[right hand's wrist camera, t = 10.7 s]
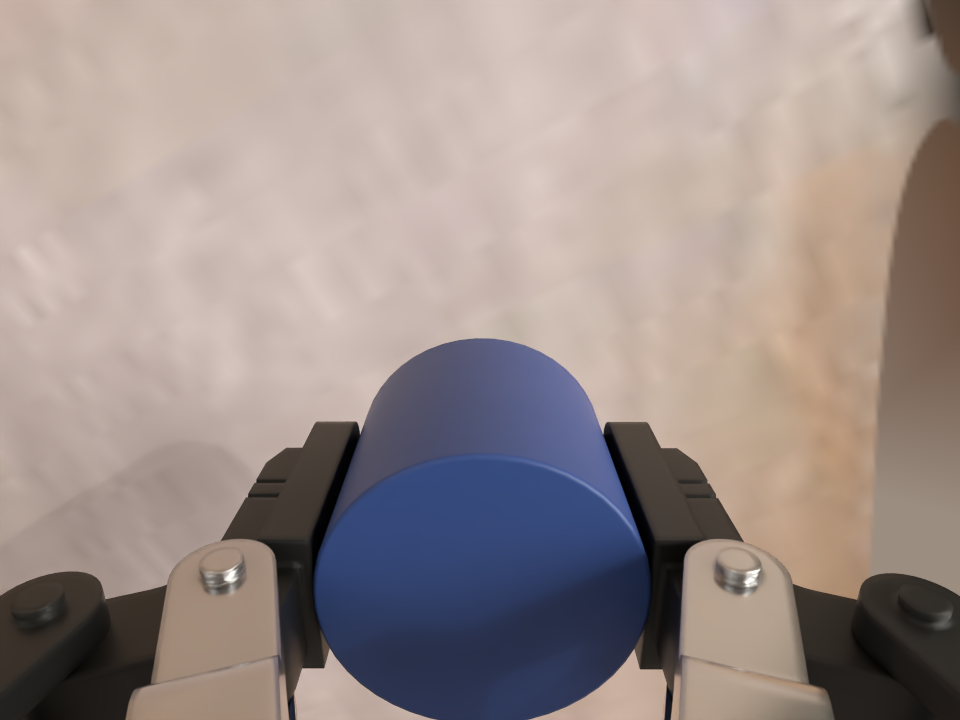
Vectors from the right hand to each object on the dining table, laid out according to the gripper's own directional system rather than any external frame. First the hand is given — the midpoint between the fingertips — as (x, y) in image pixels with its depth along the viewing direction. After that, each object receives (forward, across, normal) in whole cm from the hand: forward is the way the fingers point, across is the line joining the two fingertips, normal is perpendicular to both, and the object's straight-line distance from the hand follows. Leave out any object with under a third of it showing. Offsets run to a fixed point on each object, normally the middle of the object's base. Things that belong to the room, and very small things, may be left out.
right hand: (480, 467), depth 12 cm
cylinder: (+1, 0, 0) cm, 1 cm away
